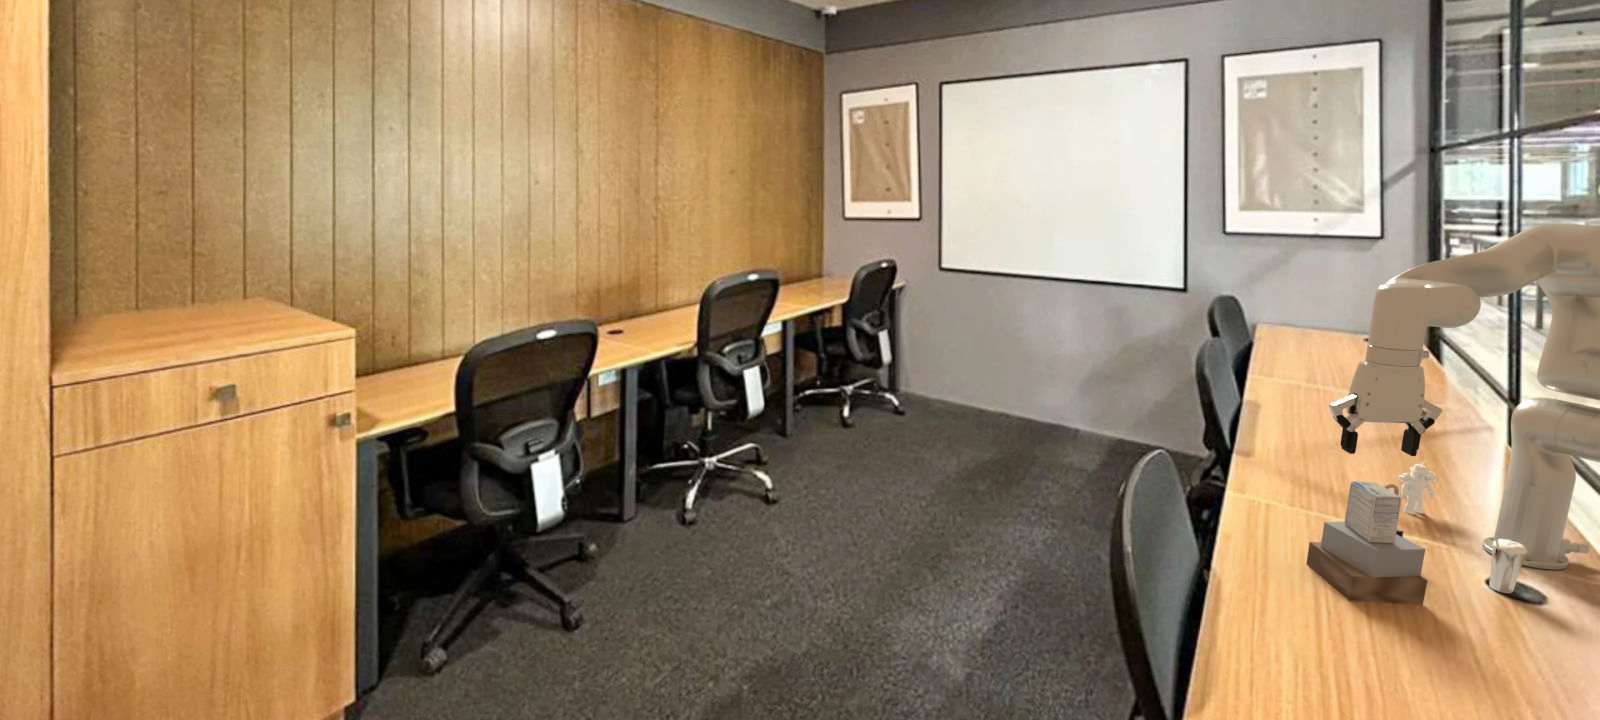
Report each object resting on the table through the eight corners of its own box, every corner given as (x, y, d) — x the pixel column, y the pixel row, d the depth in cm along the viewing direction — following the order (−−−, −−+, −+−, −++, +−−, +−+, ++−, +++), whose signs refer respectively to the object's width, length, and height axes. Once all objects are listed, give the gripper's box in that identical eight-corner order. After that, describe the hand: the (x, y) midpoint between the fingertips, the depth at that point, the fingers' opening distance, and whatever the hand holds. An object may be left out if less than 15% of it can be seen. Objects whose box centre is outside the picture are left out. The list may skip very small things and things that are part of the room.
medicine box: (1395, 544, 136) (1403, 497, 134) (1367, 543, 137) (1375, 496, 135) (1369, 526, 144) (1376, 481, 142) (1343, 524, 144) (1350, 480, 142)
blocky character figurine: (1420, 507, 178) (1429, 457, 176) (1437, 513, 175) (1447, 462, 172) (1388, 510, 176) (1397, 459, 174) (1404, 516, 173) (1414, 465, 170)
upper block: (1365, 545, 147) (1369, 520, 146) (1420, 575, 136) (1425, 549, 134) (1320, 547, 146) (1324, 522, 145) (1372, 577, 135) (1377, 550, 134)
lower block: (1372, 569, 148) (1377, 545, 147) (1422, 607, 135) (1427, 580, 134) (1305, 566, 150) (1309, 541, 149) (1348, 602, 136) (1352, 576, 135)
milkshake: (1473, 583, 142) (1483, 532, 140) (1500, 582, 143) (1511, 531, 141) (1497, 596, 138) (1508, 543, 136) (1525, 595, 139) (1536, 542, 136)
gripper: (1434, 353, 136) (1418, 447, 139) (1326, 351, 138) (1314, 444, 142) (1464, 362, 129) (1446, 461, 132) (1350, 360, 131) (1336, 457, 134)
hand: (1378, 452), depth 137 cm, fingers open, 9 cm apart
